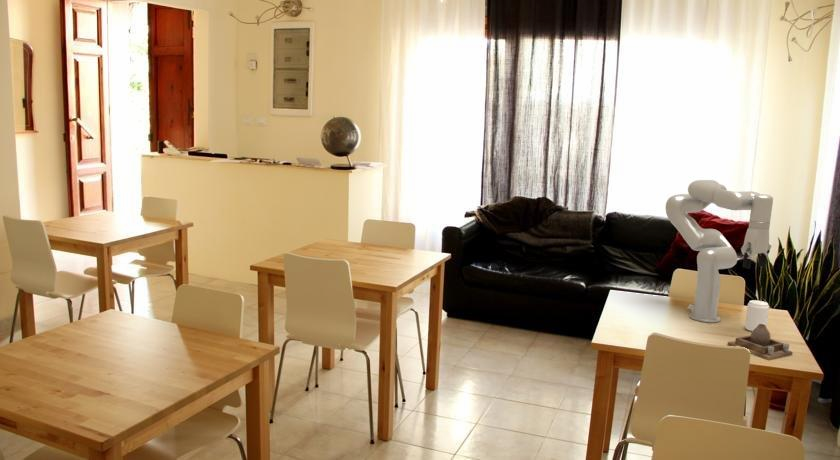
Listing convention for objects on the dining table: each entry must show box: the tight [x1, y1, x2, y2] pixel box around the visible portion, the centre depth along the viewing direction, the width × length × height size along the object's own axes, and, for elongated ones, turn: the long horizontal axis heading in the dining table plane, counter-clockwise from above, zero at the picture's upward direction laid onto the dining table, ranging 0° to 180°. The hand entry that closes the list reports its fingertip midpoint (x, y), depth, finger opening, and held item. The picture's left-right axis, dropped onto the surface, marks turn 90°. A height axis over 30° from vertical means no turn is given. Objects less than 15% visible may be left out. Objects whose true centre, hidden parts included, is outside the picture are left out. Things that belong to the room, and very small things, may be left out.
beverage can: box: [744, 299, 770, 332], centre depth 304 cm, size 8×8×12 cm
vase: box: [750, 324, 771, 347], centre depth 279 cm, size 7×7×9 cm
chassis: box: [726, 334, 794, 361], centre depth 280 cm, size 18×14×4 cm
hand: (753, 267), depth 294 cm, fingers open, 9 cm apart
